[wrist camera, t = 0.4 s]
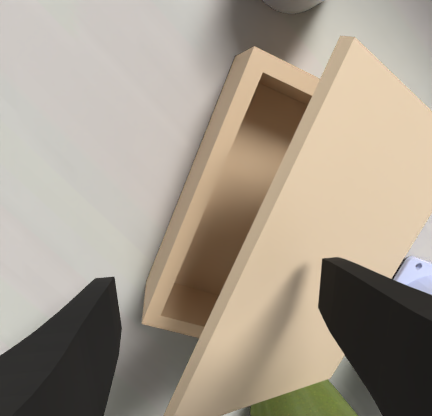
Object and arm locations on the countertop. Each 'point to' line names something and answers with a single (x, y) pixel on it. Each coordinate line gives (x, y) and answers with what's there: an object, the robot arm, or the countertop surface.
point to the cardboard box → (225, 188)
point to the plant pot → (306, 403)
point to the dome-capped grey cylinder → (292, 5)
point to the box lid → (315, 236)
